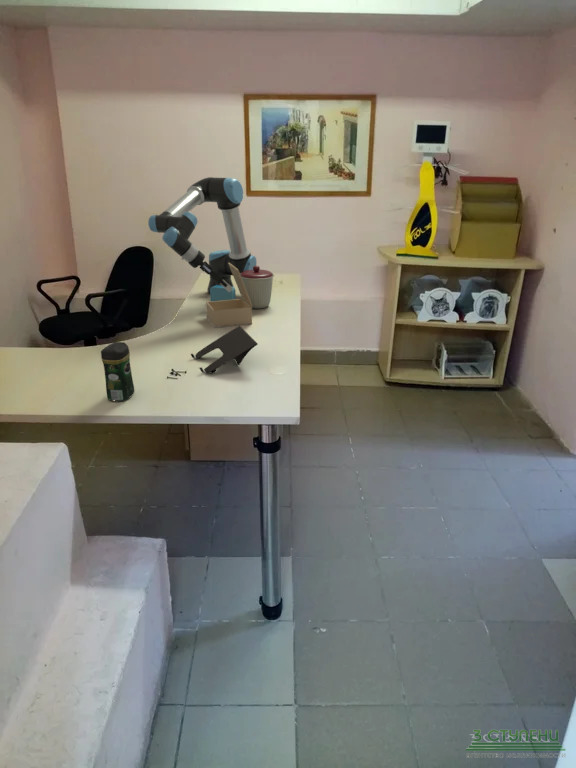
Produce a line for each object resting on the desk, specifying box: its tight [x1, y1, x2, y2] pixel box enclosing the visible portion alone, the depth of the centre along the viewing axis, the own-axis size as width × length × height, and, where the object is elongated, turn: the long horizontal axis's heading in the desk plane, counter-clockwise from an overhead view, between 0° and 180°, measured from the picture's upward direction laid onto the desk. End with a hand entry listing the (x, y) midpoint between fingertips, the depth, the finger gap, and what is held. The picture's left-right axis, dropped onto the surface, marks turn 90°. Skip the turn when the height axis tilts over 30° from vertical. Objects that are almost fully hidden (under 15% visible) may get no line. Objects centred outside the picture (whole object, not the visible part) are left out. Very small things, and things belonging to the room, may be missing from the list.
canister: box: [240, 265, 275, 310], centre depth 290 cm, size 18×18×21 cm
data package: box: [209, 285, 237, 302], centre depth 285 cm, size 12×4×12 cm, turn 71°
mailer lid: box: [228, 263, 253, 306], centre depth 266 cm, size 16×18×1 cm
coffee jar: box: [100, 341, 135, 402], centre depth 188 cm, size 10×8×19 cm
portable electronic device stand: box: [190, 325, 258, 374], centre depth 220 cm, size 23×23×9 cm
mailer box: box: [205, 298, 253, 329], centre depth 269 cm, size 16×18×8 cm
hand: (230, 290), depth 265 cm, fingers closed
